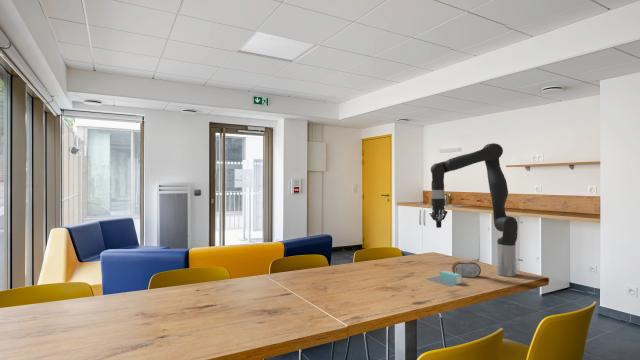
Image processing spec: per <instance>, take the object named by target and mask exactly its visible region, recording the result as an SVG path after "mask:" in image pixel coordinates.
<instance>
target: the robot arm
mask: <svg viewBox="0 0 640 360" xmlns="http://www.w3.org/2000/svg"><path fill="white" fill-rule="evenodd" d="M503 153H504V149H503V147H502V146H501V145H500V144H498V143H493V142H492V143H487V144H485V145H484V146H483V148H482V149H479V150H477V151H474V152H470V153H465V154H462V155H458V156H455V157H452V158H449V159H447V160H444V161H440V162H437V163H433V164H432V165H431V167H430V173H431V191H430V192H431V193H430V194H431V195H430V196H431V197H430V199H431V201H430V202H431V206H432V208H431V211H429V215H430V217H431V220H432V221H435V226H436V228H437V229H440V228H442V222H443V221H444V220H445V219H446V217H447V214H448V210H445V207H446V194H445V193H446V192H445V182H444V181H445V180H444V179H445V174H446V173H449V172H452V171H457V170H459V169H462V168H465V167H469V166H472V165H474V164H478V163H482V162H484V163H485V167H486V172H487V180H488V181H487V182H488V188H489V193H490V194H489V195H490V198H491V204H492V214H493V225H494V227H495V229H496V230H497V231H498V232H502V236H500V237H498V238H497V240H496V243H497V247H496V248H497V250H496V251H497V254H496V256H497V257H496V258H497V267H496V268H497V275H499V276H502V277H515V276H517V257H516V253H517V252H516V249H517V247H516V244H517V243H516V242H517V240H518V231H519V230H518V226H519V225H518V221H517V218H515V217H513V216H509V215H507V214H506V209H505V208H506V207H505V205H506V203H507V199H508V195H509V190H508V184H507V183H508V182H507V179H506V177H505V175H504V173H503V171H502V170H503V169H502V168H501V165H500V158H501V157H502V155H503Z"/></svg>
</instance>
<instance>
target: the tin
mask: <svg viewBox="0 0 640 360" xmlns="http://www.w3.org/2000/svg"><path fill="white" fill-rule="evenodd" d="M451 272H453V273H456V274H460V275H461V277H471V278H472V277H473V278H474V277H479V276H480V275H481V273H482V269H481V267H480V265H479V264H478V263H477V262H474V261H456V262H454V263H453V264H452V266H451Z"/></svg>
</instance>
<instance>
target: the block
mask: <svg viewBox="0 0 640 360" xmlns="http://www.w3.org/2000/svg"><path fill="white" fill-rule="evenodd" d="M439 276H440V281H444V282H447V283H451V284H454V285H456V286H458V285H457V284H461V281H462V276H461V275H460V274H456V273H453V271H448V270H443V271H442V270H441V271H439ZM461 285H462V284H461Z"/></svg>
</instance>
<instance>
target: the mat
mask: <svg viewBox="0 0 640 360" xmlns="http://www.w3.org/2000/svg"><path fill="white" fill-rule="evenodd" d="M425 280H427V281H431V282H434V283H437V284H440V285H442V286H447V287H456V286H461V285H464V284H468V283H469V281H468V282H467V281H464V280H461V284H457V285H454V284H451V283H447V282H444V281H440V275H438V276H433V277H427V278H425Z"/></svg>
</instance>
